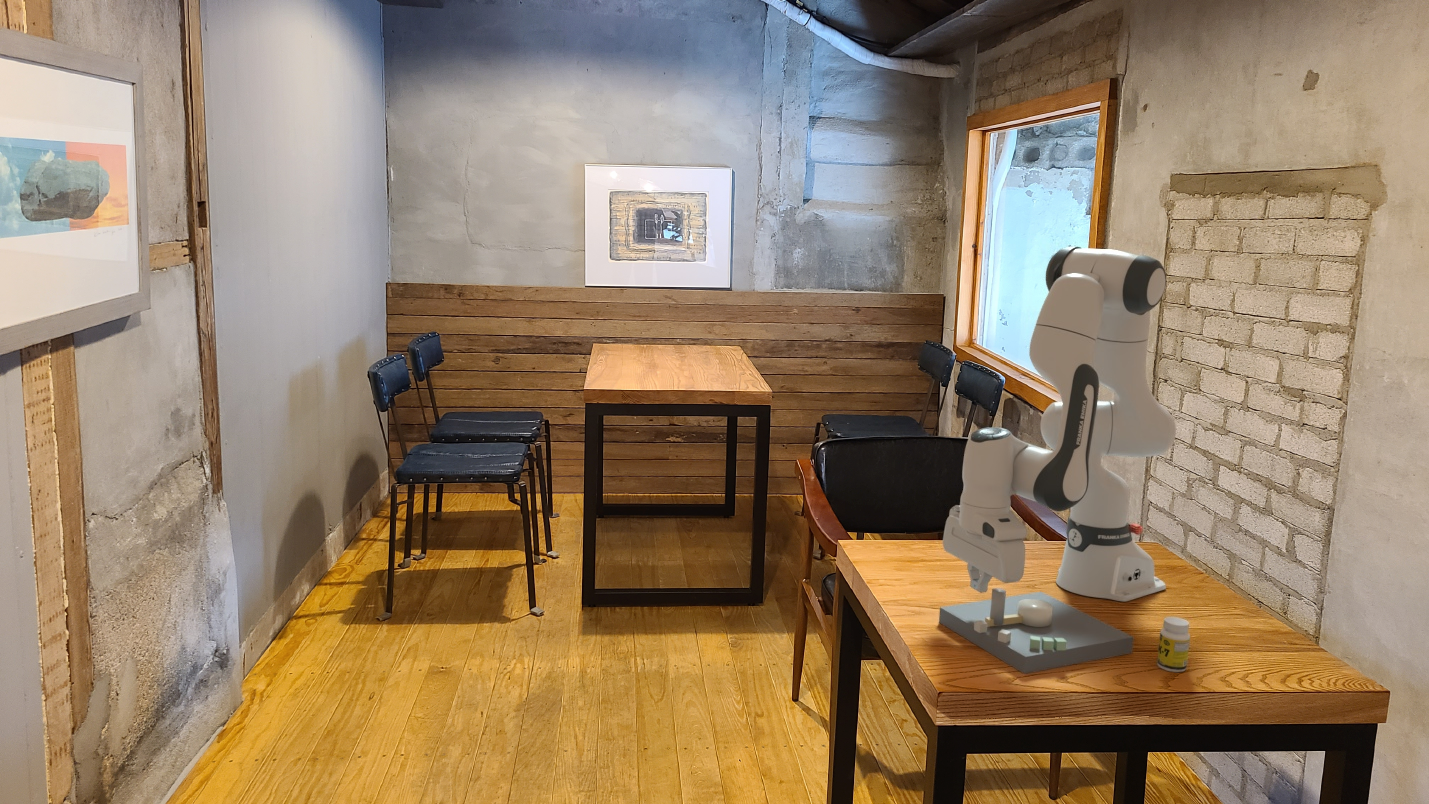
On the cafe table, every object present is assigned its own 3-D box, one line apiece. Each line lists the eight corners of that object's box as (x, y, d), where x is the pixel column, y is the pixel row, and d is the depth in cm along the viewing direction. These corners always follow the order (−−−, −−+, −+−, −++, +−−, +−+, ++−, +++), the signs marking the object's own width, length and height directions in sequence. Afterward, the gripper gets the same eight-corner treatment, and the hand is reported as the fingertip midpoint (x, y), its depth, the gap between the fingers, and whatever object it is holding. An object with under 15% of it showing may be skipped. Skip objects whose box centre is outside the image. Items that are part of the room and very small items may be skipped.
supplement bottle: (1151, 661, 190) (1156, 615, 189) (1177, 661, 191) (1182, 615, 189) (1165, 673, 186) (1170, 626, 184) (1191, 672, 186) (1197, 626, 184)
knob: (1038, 613, 202) (1040, 579, 201) (1058, 625, 197) (1061, 590, 196) (977, 620, 198) (979, 585, 197) (996, 632, 193) (999, 597, 191)
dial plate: (1039, 606, 215) (1041, 583, 214) (1133, 653, 193) (1135, 629, 192) (935, 623, 205) (937, 599, 204) (1021, 675, 183) (1023, 649, 182)
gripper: (937, 503, 207) (932, 573, 209) (1003, 534, 188) (997, 611, 190) (965, 500, 209) (960, 570, 211) (1033, 531, 190) (1027, 607, 193)
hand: (978, 589), depth 201 cm, fingers closed
